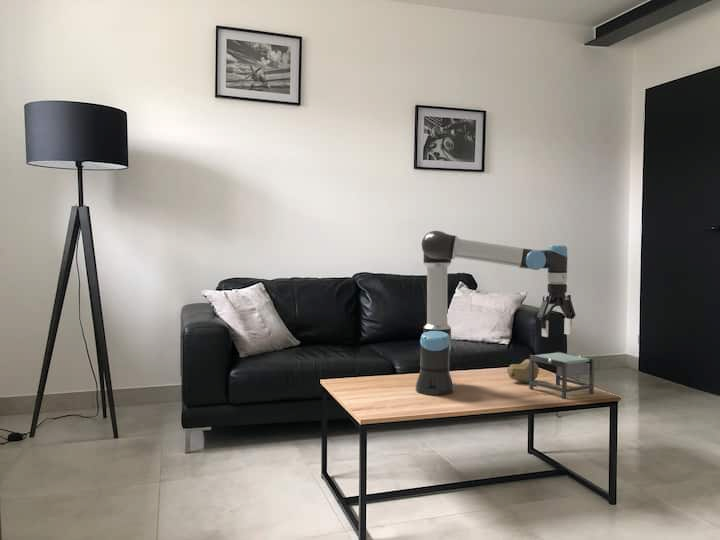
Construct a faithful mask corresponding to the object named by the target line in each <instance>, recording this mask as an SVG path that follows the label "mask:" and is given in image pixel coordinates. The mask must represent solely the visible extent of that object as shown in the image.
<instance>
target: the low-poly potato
mask: <svg viewBox="0 0 720 540" xmlns="http://www.w3.org/2000/svg"><path fill="white" fill-rule="evenodd" d="M506 371H507V375H508V377H509V378H510V379H512V380H514V381H517V382H519V383H521V384H529V372H530V358H528V359H527V358H525V359H524V360H523V361H522V362H521V363H511V364H510V365H509V366H508V367H507V369H506ZM539 373H540V369H539V365H538V364H537V362H536V361H534V381H536V379H537V378H538V375H539Z"/></svg>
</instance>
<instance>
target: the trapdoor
mask: <svg viewBox="0 0 720 540" xmlns="http://www.w3.org/2000/svg"><path fill="white" fill-rule="evenodd" d="M563 353H564V352H562V353H557V352H551V353H541V354H535V355H534V354H533V355H534V356H539V357H544V358H548V359H553V360H558V361H562V362H567V377H572V376H578V375H585V374H588V373H587V371H588V370H587V369H588V363H587V362H588V361H590V359H588V358H589V357H587V358H583V357H584V356H582V357H578V356H579V355H577V356H573V355H574V354H572V355H568V354H569V353H567V354H563ZM557 375H559V376H560V377H562V367H558V366H557Z"/></svg>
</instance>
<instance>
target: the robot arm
mask: <svg viewBox="0 0 720 540" xmlns="http://www.w3.org/2000/svg"><path fill="white" fill-rule="evenodd" d="M421 249H422V252H423V264H424V265H425V266H426V280H427V281H426V324H425V325H424V326H423V333H421V336H420V339H419V342H420V343H419V344H420V365H419V367H420V368H419V369H420V370H419V374H418V377H417V380H416V383H415V391H416V392H418V393H420V394H423V395H431V396H445V395H450V394H453V393H454V384H453V381H452V376H451V374H450V353H451V350H452V345H453V342H452V327H451V326H450V325H449V324H448V267H449V266H450V265H451V264H452V260H455V259H457V258H458V259H464V260H470V261H477V262H482V263H483V262H484V263H490V264H498V265H503V266H510V267H515V268H516V267H517V268H519V269H528V270H533V271H538V270H541V269H544V270H545V269H547V293H548V295H543V296H542V302H541V304H540V308H539V310H538V313H537V316H536V319H538V320H539V321H540V329H541V337H544V338H548V337H549V320H548V319H549V317H550V315H551V313H552V312H553V309H555V307H560V309H561V311H562V313H563V315H564V316H565V318H564V319H563V320H564V321H563V322H564V324H563V326H564V327H563V329H564V330H563V331H564V332H563V335H564V334H565V335H567V336H568V335H569V336H570V335H571V334H572V332H571V331H572V330H571V329H572V320H574V319H575V317H576V312H575V309H574V306H573V302H572V297H571V294H566V293H567V292H568V285H567V281H568V258H569V256H568V247H567V246H566V245H561V244H560V245H549V246H547V249H544V250H543V249H542V250H540V249H530V248H523V247H518V246H517V247H516V246H510V245H504V244H503V245H502V244H496V243H490V242H484V241H477V240H476V241H475V240H470V239H463V238H459V237H458V236H457V235H452V234H448V233H446V232H444V231H441V230H432V231H429V232H427V233H426V234H425V235H424V236H423V237H422V241H421Z"/></svg>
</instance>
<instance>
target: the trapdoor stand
mask: <svg viewBox="0 0 720 540" xmlns="http://www.w3.org/2000/svg"><path fill="white" fill-rule="evenodd" d="M556 353H563V354H568V355H573V356H578V357H583V358H588V359H590V361H588V362H587V364H589V372H588V373H589V377H588V379H589V380H588V382H583V381H580V380H576V379H571V378H568V376H567V362H562V361H558V360H553V359H548V358H544V357H539V356H534V354H529V360H530V372H529V383H528V385H529V386H528V387H529V388H528V389H529V390H534V388H535V387H534V386H539V387H541V388H546V389H549V390H553V391H557V392H561V399H562V400H563V399H564V400H565V399H567V393H571V392H576V391H582V390H588V393H595V392H594V389H595V386H594V385H595V358H591V357H587V356H582V354H580V355H576V354H573V353H572V354H571V353H566V352H561V351H556ZM534 361H535V362H536V363H542V364H546V365H550V366H555V367H556V368H555V385H556V386H555V385H551V384H549V383H548V384H547V383H544V382H540V381H536V380H534ZM557 366H558V367H562V376H559V375H557ZM567 383H570V384H573V385H578V386H571V387H567V386H568V385H567ZM560 385H561V387H559V386H560Z"/></svg>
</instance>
